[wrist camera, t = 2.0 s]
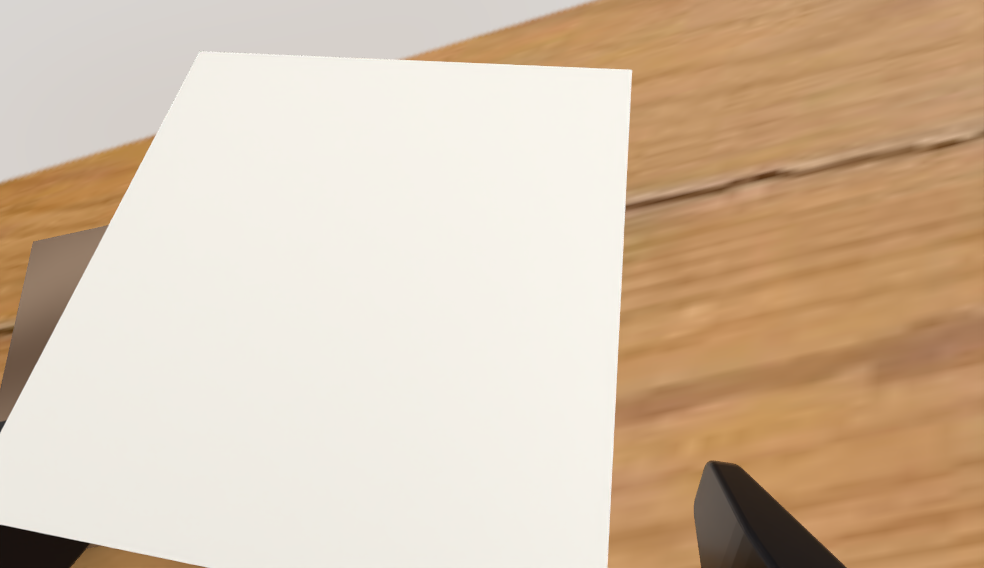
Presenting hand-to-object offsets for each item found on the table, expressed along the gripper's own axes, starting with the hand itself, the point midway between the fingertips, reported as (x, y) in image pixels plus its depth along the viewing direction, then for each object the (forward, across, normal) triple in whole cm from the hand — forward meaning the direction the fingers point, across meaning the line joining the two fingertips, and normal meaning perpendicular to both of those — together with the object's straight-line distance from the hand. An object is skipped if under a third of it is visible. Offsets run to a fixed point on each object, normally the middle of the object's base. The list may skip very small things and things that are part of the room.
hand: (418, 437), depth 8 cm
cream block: (+7, 0, +6) cm, 9 cm away
